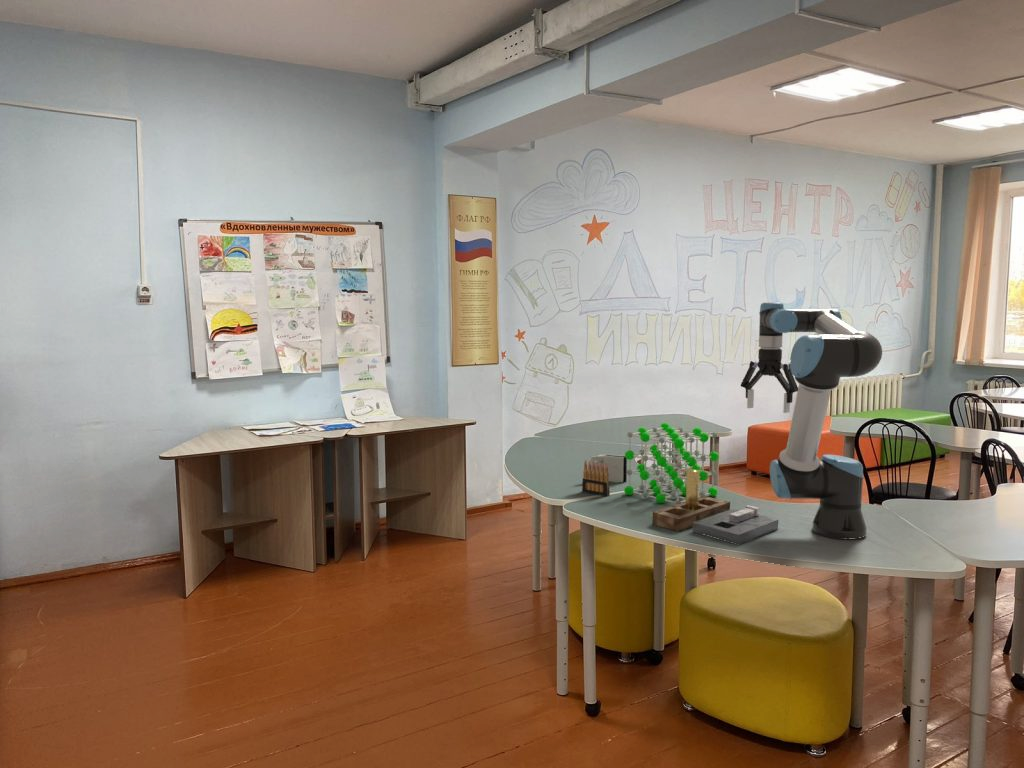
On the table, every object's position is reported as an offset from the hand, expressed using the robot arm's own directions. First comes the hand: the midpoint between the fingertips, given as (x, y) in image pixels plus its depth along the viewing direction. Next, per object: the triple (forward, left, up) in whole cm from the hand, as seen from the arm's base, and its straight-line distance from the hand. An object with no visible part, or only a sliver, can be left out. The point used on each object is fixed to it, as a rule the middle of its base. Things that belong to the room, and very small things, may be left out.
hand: (768, 410), depth 258 cm
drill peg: (+6, +34, -33) cm, 48 cm away
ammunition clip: (+48, +34, -33) cm, 67 cm away
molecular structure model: (+28, +16, -33) cm, 46 cm away
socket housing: (-10, +34, -33) cm, 48 cm away
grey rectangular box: (+57, +17, -33) cm, 68 cm away
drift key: (-10, +30, -30) cm, 43 cm away
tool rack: (+6, +34, -33) cm, 48 cm away
